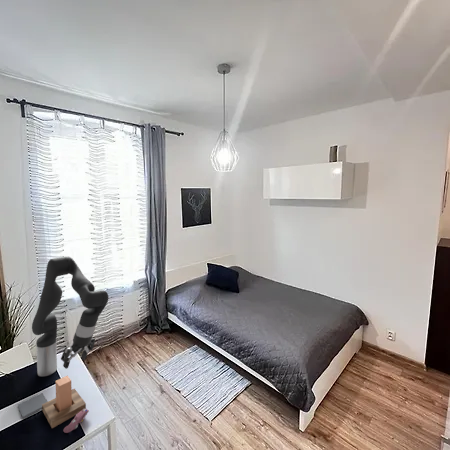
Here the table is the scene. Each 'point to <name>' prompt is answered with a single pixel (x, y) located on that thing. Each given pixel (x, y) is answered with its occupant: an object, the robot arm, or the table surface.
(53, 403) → the walnut pocket block
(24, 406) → the slate pad
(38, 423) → the table surface
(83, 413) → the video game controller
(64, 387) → the terracotta block
